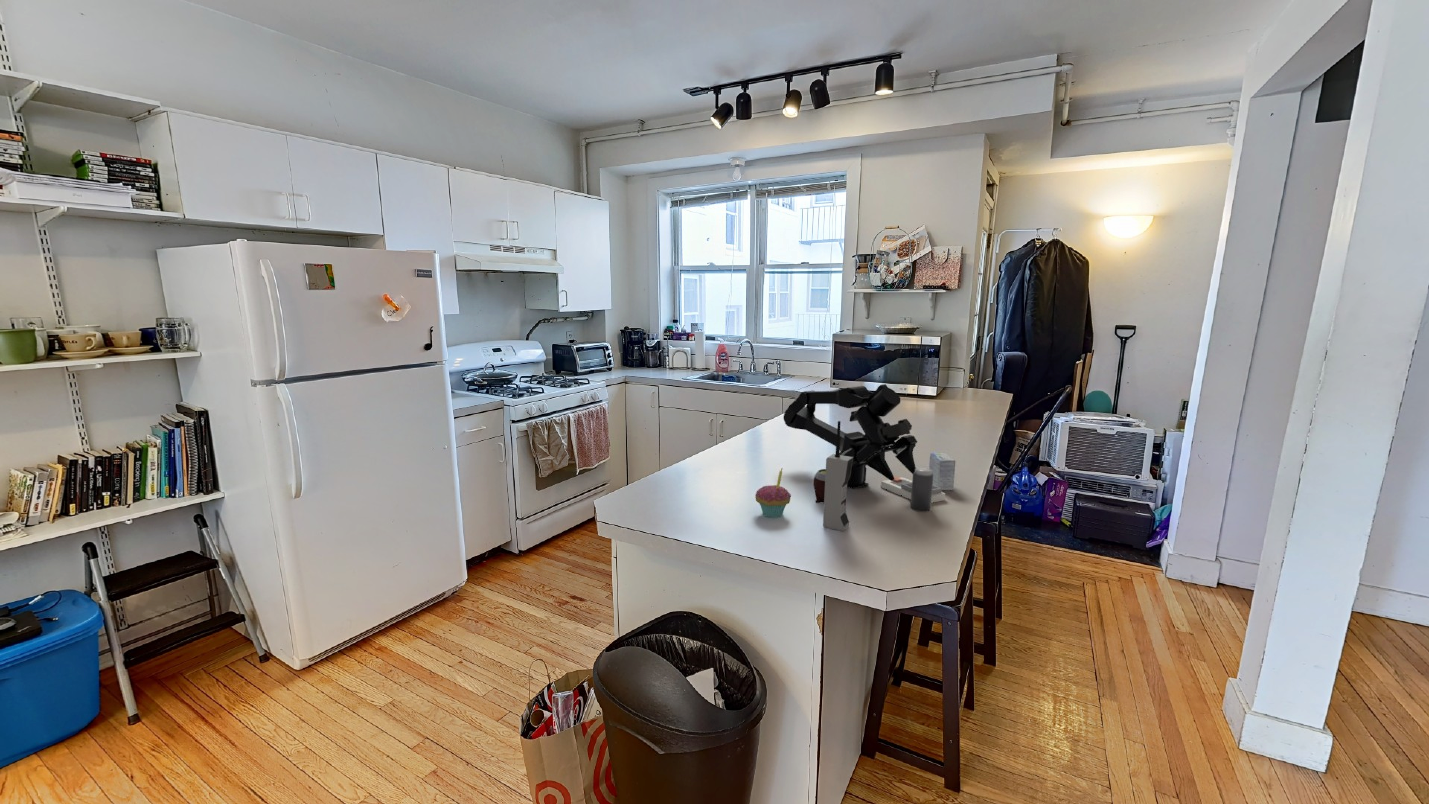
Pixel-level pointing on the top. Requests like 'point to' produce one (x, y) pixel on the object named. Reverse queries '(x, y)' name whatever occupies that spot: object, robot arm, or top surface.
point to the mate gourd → (821, 483)
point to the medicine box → (942, 470)
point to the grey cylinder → (921, 490)
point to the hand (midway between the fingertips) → (904, 476)
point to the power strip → (910, 488)
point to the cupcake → (773, 499)
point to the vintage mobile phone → (836, 488)
